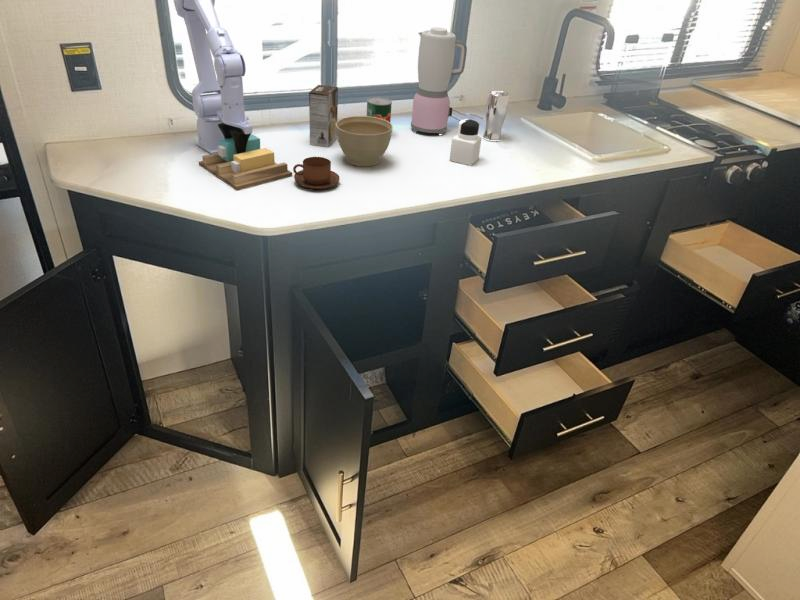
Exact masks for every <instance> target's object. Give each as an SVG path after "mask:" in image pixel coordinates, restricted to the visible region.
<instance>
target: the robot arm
mask: <svg viewBox="0 0 800 600" xmlns="http://www.w3.org/2000/svg"><path fill="white" fill-rule="evenodd" d="M215 1H216V0H173V5H174V9H175V11H176V13H177V15H178V16H179V17H181V18H182V19H183V21H184V23H185V26H186V30H187V36H188V40H189V43H190V48H191V52H192V56H193V60H194V65H195V70H196V73H197V78H198V83H197V85H196V86H195V87H194V88H193V89H192V91H191V98H192V107H193V111H194V113H195V116H196V117H197V119H196V128H197V129H196V130H197V138H198V139H197V142H195V145H197V146H199V148H202V149H203V150H205V151H206V152H208V153H209V154H214V153H218V146H220V140H222V139H228V138H233V140H234V143H235V148H236V153H237V154H240V153H245V152H246V146H247V142H248V139H249V137H250V135H251V134H253V126H252V125H251V124H250V123H249V122H248V121H249V120H250V118H249V116H247V115H246V113H245V99H244V97H245V96H244V86H243V85H244V84H243V77H244V76H245V75H246V70H247V69H246V62H245V59H244V56H243V54H242V53H241V52H239V50H238V49H236V48H235V47H234V45H233V42H232V40H231V37H230V35H229V33H228V31H227V30H226V29H225V28H223V27H221V25H220V22H219V19H218V15H217V12H216V8H215V4H216V3H215ZM212 56H213V57H212ZM213 58H214V59H213Z"/></svg>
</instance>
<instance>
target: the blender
mask: <svg viewBox="0 0 800 600" xmlns="http://www.w3.org/2000/svg"><path fill="white" fill-rule="evenodd" d="M418 35H419V37H420V40H419V47H418V55H417V56H418V58H417V79H418V88H417V91H416V93H415V95H414V97H413V102H412V113H411V121H410V126H411V129H412V132H413V131H414V132H417V133H418V132H421V133H430V134H437V135H438V134H443V135H444V133H445V132H446V131H447V129H448V120H449V117H452V114H453V107H451V106H450V104H451V101H450V100H451V99H450V98H449V97H450V96H449V93H448V87H449V85H450V84H449V83H450V81H451V80H450V79H451V76H454V75H456V76H458V75H462V74H463V73H464V70H465V67H466V66H465V65H466V60H467V59H466V58H467V54H468V53H467V52H468V47H467V45H466V43H465V42H464V41H463V40H458V39H457V37H456V35H455V34H454V33H453V32H450V31H448V29H447V28H444V27H431V28H430V30H423V31H422V32H418ZM456 47H459V48H460V49H461V53H460V57H459V58H460V61H459V65H458V66H459V67H458V68H455V69H453V68H454V61H455V60H454V59H455V51H456ZM414 132H413V133H414Z"/></svg>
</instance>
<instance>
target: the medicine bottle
mask: <svg viewBox="0 0 800 600" xmlns="http://www.w3.org/2000/svg"><path fill="white" fill-rule="evenodd" d="M457 128H458V129H457V134H456V135H455V136H453V138H452V139H451V145H450V153H449V161H450V162H453V161H454V163H457V162H458V164H461V163H462V165H465V164H467V165H466V166H469V165H471V166H473V164H474V163H475V162H477V160H479V157H480V150H481V144H482V138H483V136H481V135H479V130H480V129H479V128H480V123H479V122H478V121H477V120H474V119H470V118H469V119H468V118H465V119H461V120H460V121H459V122H458V127H457Z"/></svg>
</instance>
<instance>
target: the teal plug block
mask: <svg viewBox="0 0 800 600" xmlns="http://www.w3.org/2000/svg"><path fill="white" fill-rule="evenodd" d="M258 149H261V138H260V137H258V136H256V135H254V134H253V133H251V135H250V137H249V139H248V142H247V146H246V152H249V151H254V150H258ZM236 154H237V153H236V148H235V143H234V140H233V138H228V139H222V140H220V146H218V155H219V156H221V158H222V159H224V160H226V161H227V162H231V161H234V159H233V155H236Z"/></svg>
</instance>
